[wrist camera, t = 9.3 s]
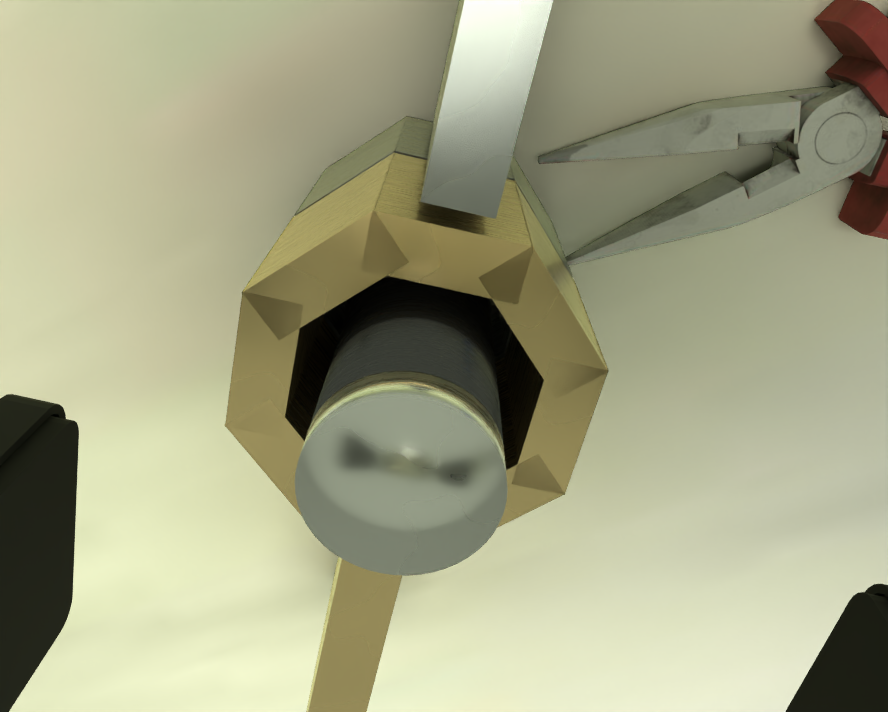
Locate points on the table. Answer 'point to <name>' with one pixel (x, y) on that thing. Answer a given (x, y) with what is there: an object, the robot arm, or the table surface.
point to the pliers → (764, 121)
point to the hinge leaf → (313, 341)
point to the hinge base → (466, 127)
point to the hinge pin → (407, 433)
